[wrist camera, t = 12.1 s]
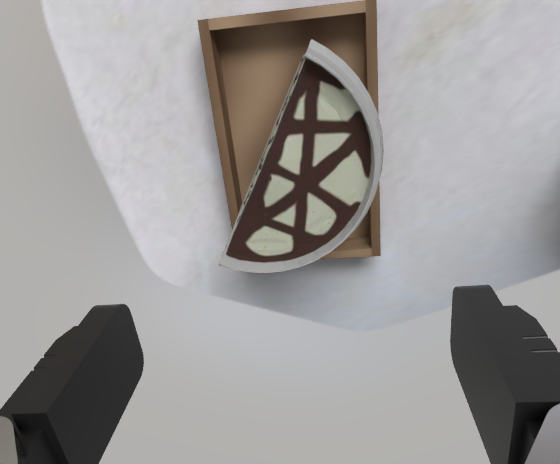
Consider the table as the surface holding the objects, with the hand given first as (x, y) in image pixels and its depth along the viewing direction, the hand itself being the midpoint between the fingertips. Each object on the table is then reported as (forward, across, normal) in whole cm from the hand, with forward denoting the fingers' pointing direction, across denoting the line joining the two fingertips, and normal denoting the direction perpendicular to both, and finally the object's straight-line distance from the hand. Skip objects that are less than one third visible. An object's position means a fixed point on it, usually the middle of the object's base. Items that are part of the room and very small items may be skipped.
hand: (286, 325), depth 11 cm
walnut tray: (+22, +1, +1) cm, 22 cm away
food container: (+22, 0, +1) cm, 22 cm away
